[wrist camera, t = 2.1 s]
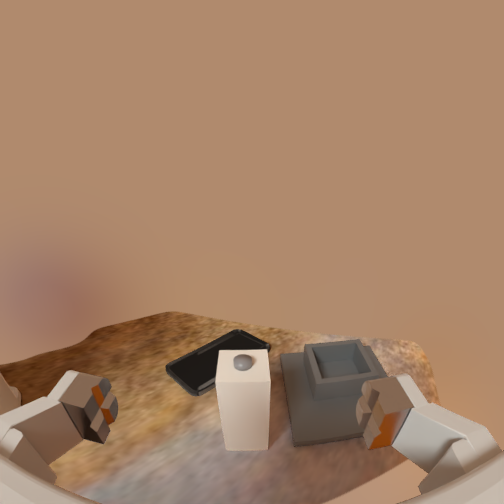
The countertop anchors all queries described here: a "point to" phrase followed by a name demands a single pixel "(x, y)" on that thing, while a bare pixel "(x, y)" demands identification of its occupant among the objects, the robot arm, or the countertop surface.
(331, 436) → the dock
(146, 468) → the countertop surface
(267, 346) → the phone
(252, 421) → the cream square peg
